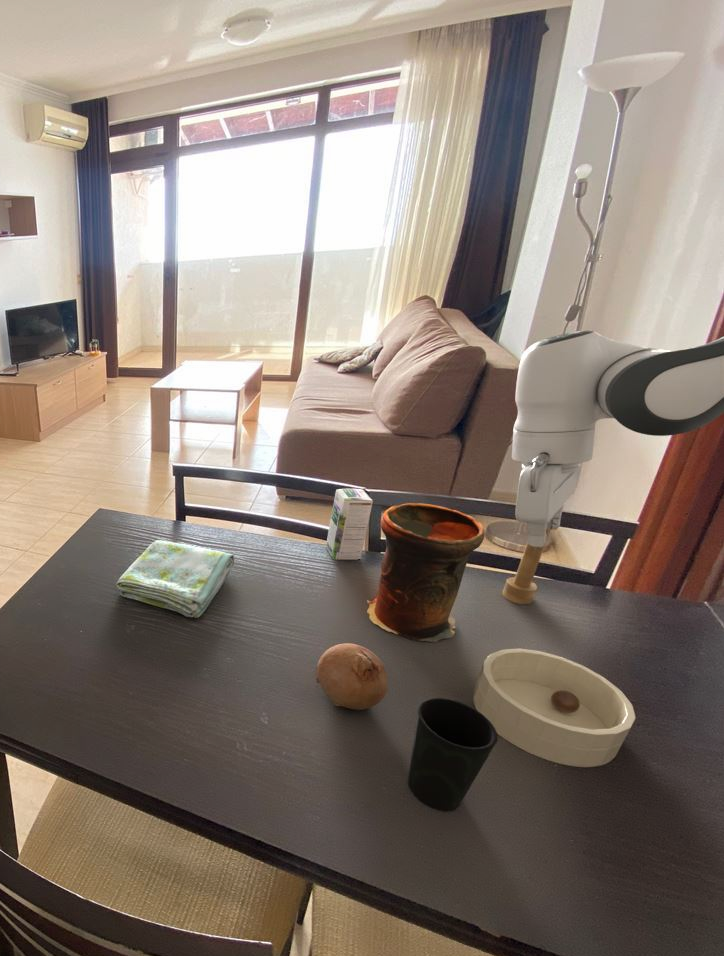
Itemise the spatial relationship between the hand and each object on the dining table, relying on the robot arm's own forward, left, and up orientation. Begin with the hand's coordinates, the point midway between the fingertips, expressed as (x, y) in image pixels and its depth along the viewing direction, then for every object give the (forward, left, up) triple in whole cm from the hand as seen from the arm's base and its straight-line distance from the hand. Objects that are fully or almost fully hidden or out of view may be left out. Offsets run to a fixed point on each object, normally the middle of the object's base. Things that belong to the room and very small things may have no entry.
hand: (544, 536), depth 82 cm
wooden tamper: (-6, -14, -20) cm, 25 cm away
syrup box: (+22, -24, -20) cm, 38 cm away
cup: (+19, +34, -20) cm, 44 cm away
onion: (+27, +20, -20) cm, 39 cm away
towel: (+56, -5, -20) cm, 60 cm away
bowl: (+2, +18, -20) cm, 27 cm away
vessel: (+14, -3, -20) cm, 25 cm away
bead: (-1, +16, -18) cm, 24 cm away
